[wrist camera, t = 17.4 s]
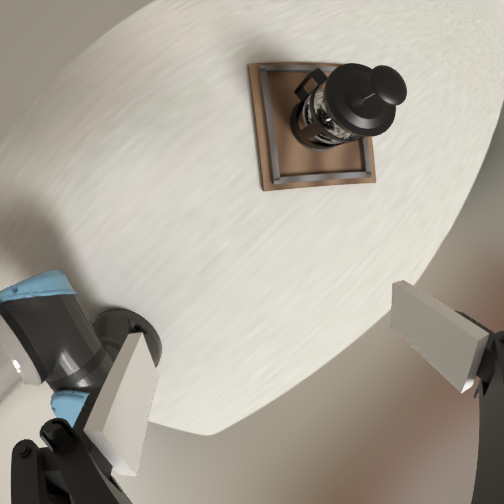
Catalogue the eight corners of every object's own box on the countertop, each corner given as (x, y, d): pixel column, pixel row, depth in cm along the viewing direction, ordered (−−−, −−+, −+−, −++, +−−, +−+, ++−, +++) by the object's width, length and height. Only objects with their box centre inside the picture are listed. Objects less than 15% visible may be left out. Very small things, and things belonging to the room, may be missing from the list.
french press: (356, 134, 43) (445, 111, 21) (316, 165, 44) (393, 156, 22) (313, 80, 40) (377, 17, 18) (271, 109, 41) (311, 49, 19)
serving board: (263, 191, 46) (265, 191, 43) (248, 66, 40) (249, 61, 38) (372, 182, 47) (379, 182, 44) (357, 68, 41) (362, 64, 39)
